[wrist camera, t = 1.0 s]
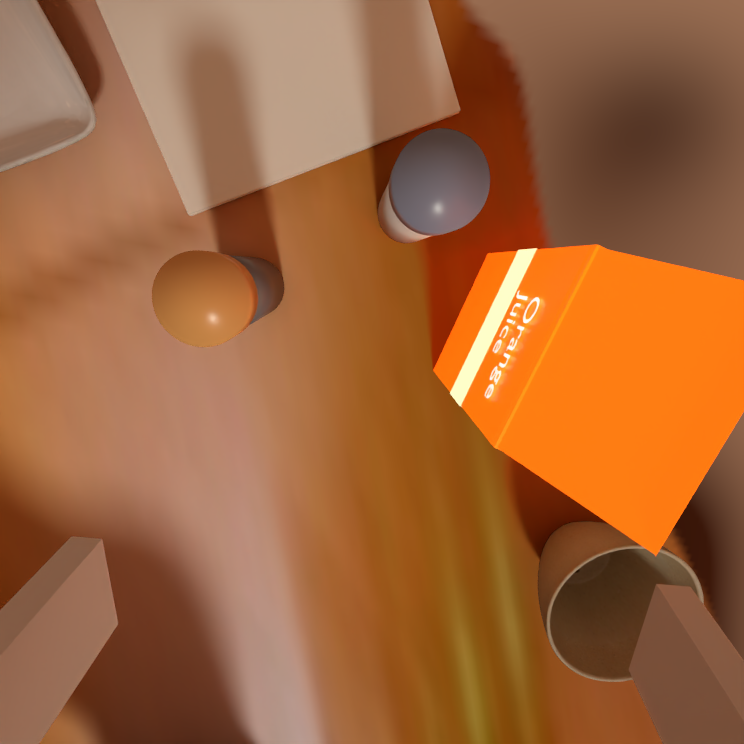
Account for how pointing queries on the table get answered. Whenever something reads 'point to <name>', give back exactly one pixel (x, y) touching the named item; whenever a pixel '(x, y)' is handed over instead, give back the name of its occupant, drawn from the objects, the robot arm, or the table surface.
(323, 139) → the paper
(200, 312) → the marker
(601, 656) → the flower pot
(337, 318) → the table surface
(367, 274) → the table surface
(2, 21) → the salad plate
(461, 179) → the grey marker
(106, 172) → the table surface
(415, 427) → the table surface
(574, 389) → the orange juice
